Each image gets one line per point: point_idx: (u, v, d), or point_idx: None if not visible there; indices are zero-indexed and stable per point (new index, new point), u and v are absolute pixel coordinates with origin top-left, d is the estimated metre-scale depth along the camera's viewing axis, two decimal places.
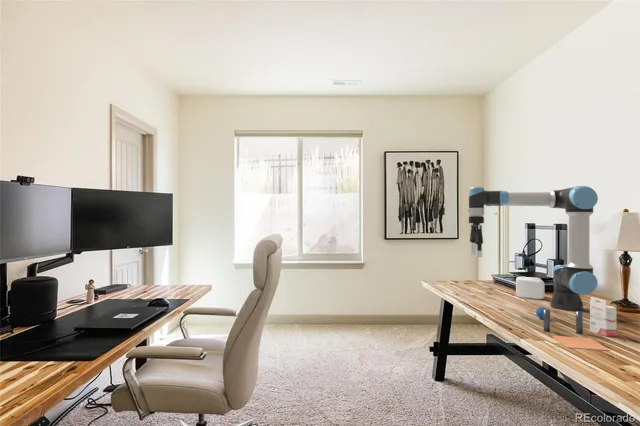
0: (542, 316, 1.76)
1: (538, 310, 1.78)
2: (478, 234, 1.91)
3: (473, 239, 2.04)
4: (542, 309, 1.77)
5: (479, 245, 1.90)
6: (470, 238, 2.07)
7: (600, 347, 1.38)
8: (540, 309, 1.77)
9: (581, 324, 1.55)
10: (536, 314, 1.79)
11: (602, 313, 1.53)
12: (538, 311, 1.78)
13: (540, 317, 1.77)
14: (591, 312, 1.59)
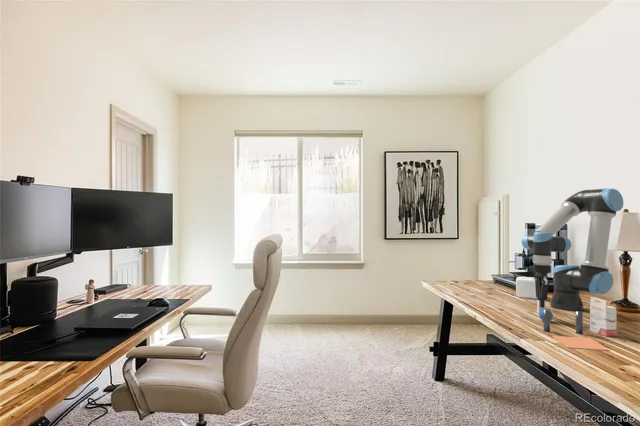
0: None
1: (542, 318, 1.73)
2: (543, 291, 1.73)
3: None
4: None
5: (542, 301, 1.76)
6: (536, 293, 1.81)
7: (600, 347, 1.38)
8: None
9: (581, 324, 1.55)
10: (539, 314, 1.75)
11: (602, 313, 1.53)
12: (541, 318, 1.73)
13: None
14: (591, 312, 1.59)
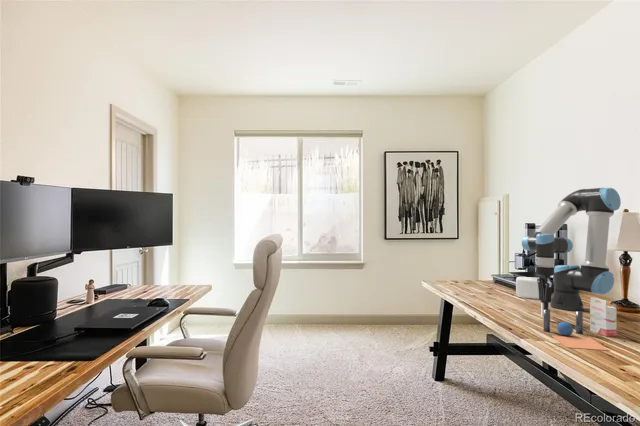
0: None
1: None
2: (547, 293, 1.71)
3: None
4: None
5: (546, 304, 1.74)
6: (539, 295, 1.79)
7: (600, 347, 1.38)
8: None
9: (581, 324, 1.55)
10: (558, 325, 1.53)
11: (602, 313, 1.53)
12: None
13: (560, 322, 1.54)
14: (591, 312, 1.59)
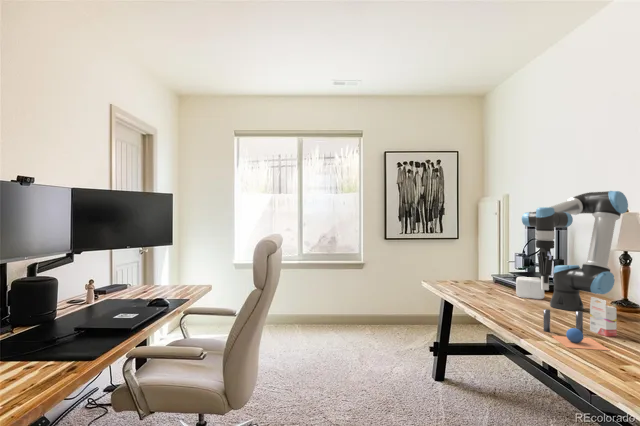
0: (574, 341, 1.42)
1: (570, 333, 1.43)
2: (547, 266, 1.71)
3: None
4: (575, 333, 1.41)
5: (546, 277, 1.74)
6: (539, 269, 1.79)
7: (600, 347, 1.38)
8: (573, 333, 1.42)
9: (581, 324, 1.55)
10: None
11: (602, 313, 1.53)
12: (570, 335, 1.42)
13: (572, 341, 1.43)
14: (591, 312, 1.59)
